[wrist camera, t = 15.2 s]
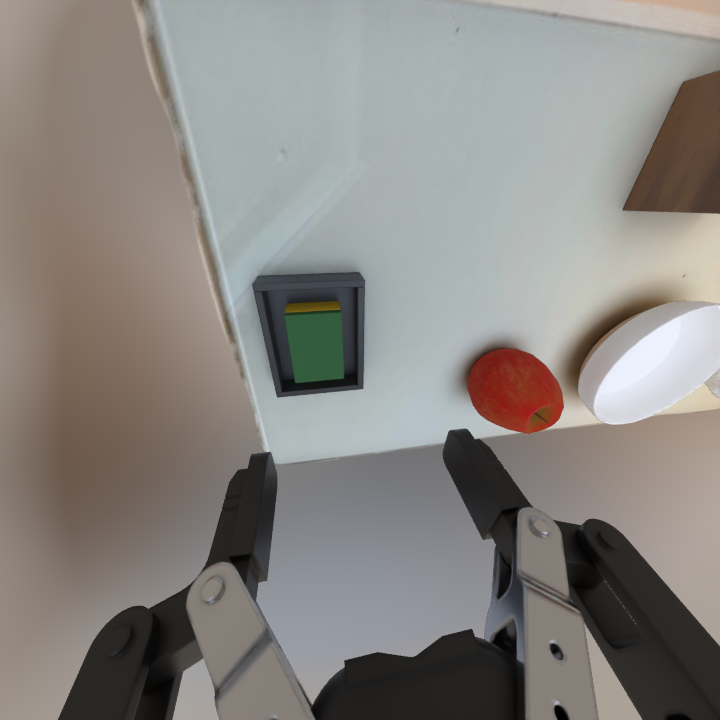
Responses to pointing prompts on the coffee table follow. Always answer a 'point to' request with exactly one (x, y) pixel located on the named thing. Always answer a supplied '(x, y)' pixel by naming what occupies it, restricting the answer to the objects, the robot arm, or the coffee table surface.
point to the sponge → (315, 340)
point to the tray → (304, 289)
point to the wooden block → (684, 154)
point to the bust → (714, 383)
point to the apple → (515, 391)
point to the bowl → (651, 361)
